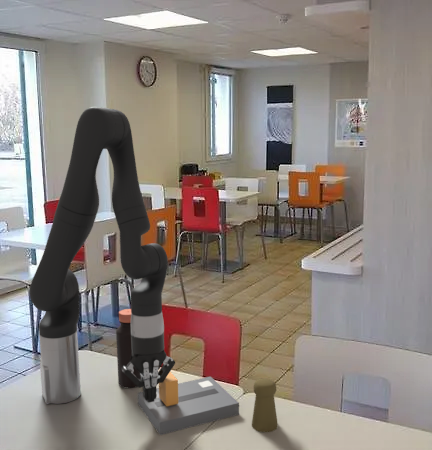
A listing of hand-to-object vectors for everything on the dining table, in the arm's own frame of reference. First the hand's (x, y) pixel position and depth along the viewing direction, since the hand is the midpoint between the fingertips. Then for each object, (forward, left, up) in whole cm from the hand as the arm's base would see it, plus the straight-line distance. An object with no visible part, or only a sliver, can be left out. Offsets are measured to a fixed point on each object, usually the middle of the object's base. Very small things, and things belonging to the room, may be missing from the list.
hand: (149, 400), depth 134 cm
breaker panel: (+9, 0, -5) cm, 11 cm away
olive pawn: (+22, -15, -5) cm, 27 cm away
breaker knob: (+5, 0, -1) cm, 5 cm away
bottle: (+1, +20, -5) cm, 21 cm away
